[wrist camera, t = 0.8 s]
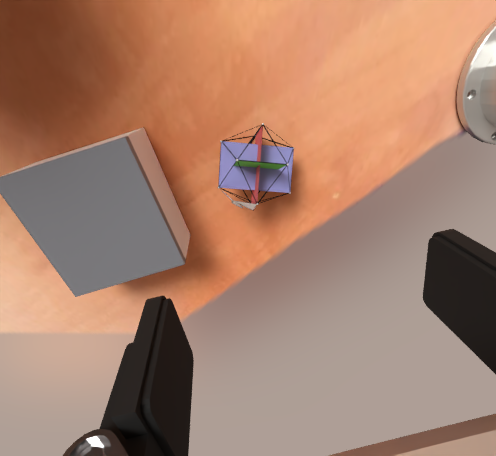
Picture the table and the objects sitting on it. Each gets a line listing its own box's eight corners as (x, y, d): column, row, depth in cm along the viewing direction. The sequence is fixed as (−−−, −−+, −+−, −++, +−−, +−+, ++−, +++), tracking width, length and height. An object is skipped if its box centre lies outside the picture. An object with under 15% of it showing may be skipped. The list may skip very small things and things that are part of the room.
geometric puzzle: (222, 100, 25) (219, 175, 21) (300, 109, 26) (309, 182, 22) (218, 156, 31) (215, 221, 27) (281, 162, 32) (285, 226, 28)
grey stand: (143, 127, 27) (124, 137, 22) (190, 234, 32) (184, 264, 27) (35, 162, 28) (-10, 180, 22) (99, 262, 33) (75, 296, 27)
